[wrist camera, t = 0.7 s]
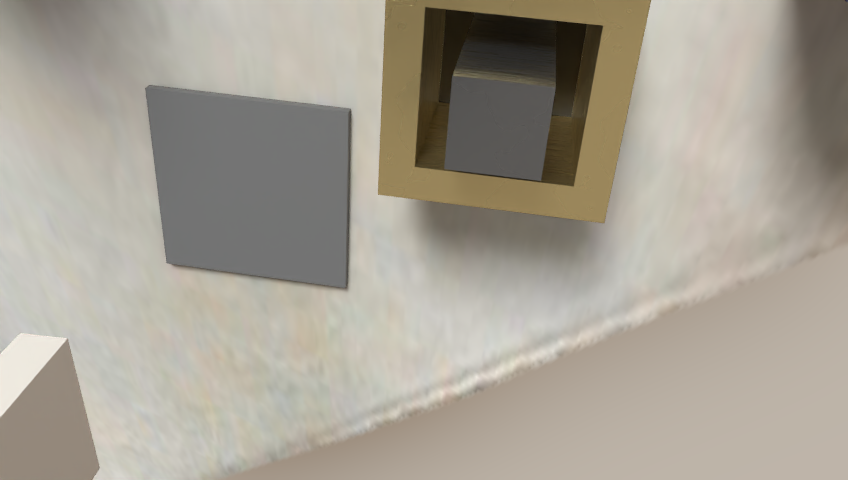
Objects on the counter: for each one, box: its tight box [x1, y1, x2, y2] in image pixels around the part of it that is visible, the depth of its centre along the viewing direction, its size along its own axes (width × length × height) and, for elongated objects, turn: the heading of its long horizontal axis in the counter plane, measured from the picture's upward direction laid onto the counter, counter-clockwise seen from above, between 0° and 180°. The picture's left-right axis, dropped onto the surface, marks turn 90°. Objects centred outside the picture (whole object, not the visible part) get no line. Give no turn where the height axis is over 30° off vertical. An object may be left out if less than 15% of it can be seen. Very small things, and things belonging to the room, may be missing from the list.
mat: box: [145, 85, 351, 288], centre depth 36 cm, size 9×9×1 cm
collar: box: [378, 0, 651, 223], centre depth 28 cm, size 8×8×6 cm
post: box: [444, 12, 556, 181], centre depth 27 cm, size 3×3×9 cm
